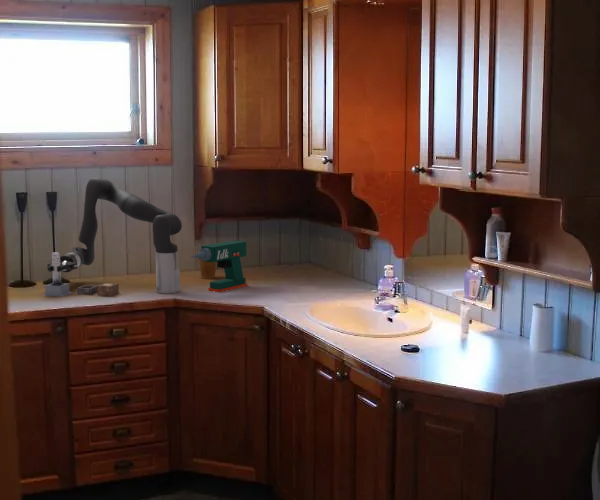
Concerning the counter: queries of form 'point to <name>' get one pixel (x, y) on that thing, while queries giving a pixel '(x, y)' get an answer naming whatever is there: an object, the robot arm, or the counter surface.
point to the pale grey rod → (54, 265)
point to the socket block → (99, 290)
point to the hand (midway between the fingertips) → (53, 269)
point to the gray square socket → (57, 290)
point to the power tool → (225, 263)
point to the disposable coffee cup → (207, 269)
